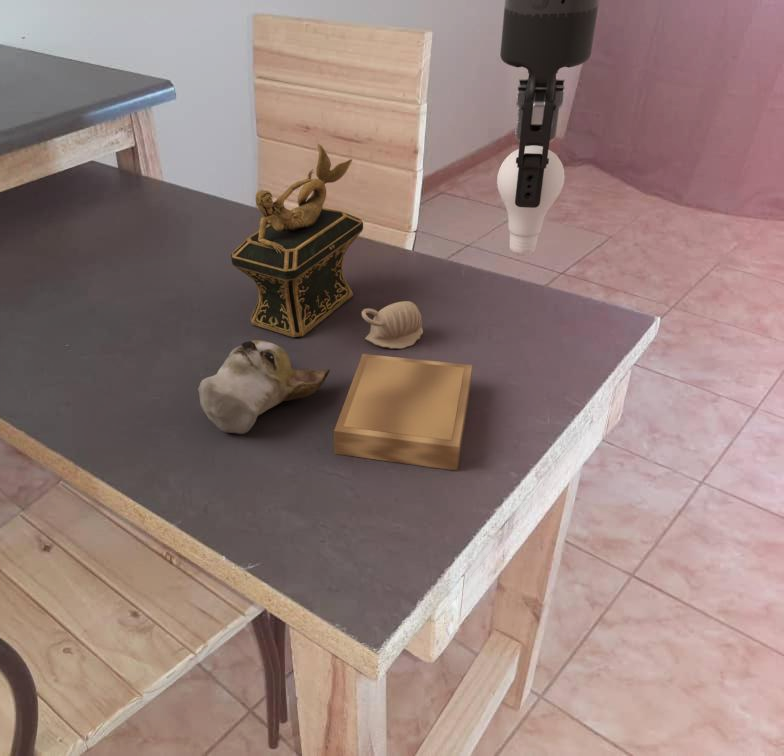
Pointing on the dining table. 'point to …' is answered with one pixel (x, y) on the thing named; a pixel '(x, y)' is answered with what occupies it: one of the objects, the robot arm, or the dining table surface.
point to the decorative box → (299, 255)
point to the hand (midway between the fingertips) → (528, 191)
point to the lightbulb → (526, 219)
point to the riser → (405, 411)
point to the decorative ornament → (395, 325)
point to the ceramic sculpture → (254, 385)
